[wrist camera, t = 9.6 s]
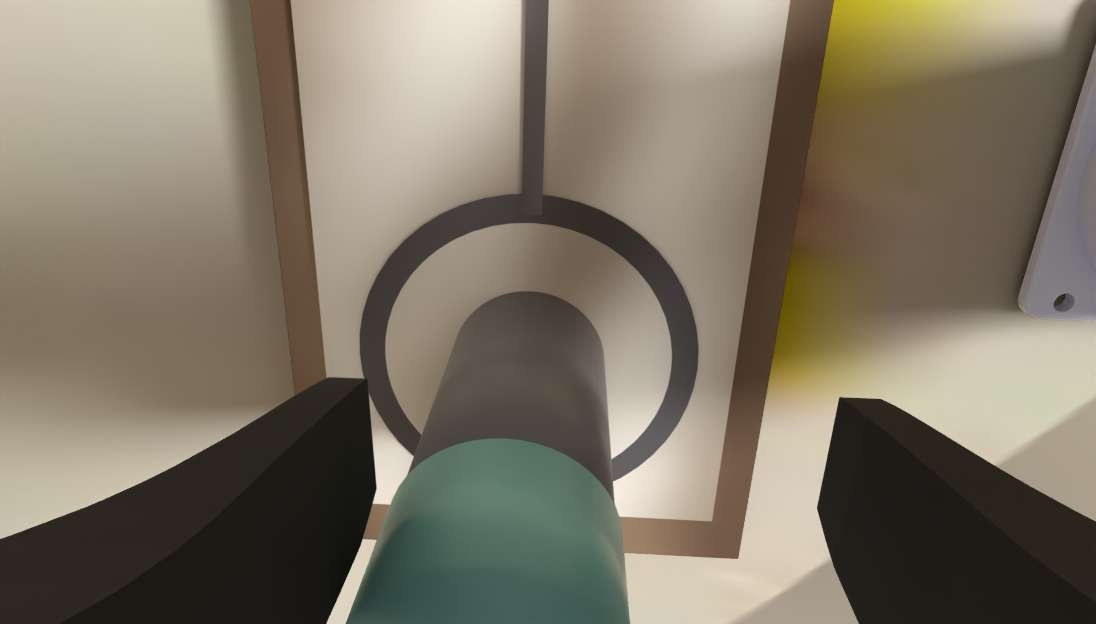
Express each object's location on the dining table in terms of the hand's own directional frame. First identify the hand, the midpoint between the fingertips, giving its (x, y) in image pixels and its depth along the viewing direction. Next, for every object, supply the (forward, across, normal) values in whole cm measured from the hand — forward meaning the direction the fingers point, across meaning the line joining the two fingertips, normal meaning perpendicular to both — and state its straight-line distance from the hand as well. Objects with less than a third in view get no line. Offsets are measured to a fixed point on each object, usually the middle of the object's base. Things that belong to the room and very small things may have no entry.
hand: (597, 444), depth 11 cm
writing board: (+9, +2, -1) cm, 9 cm away
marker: (+8, +2, +3) cm, 8 cm away
